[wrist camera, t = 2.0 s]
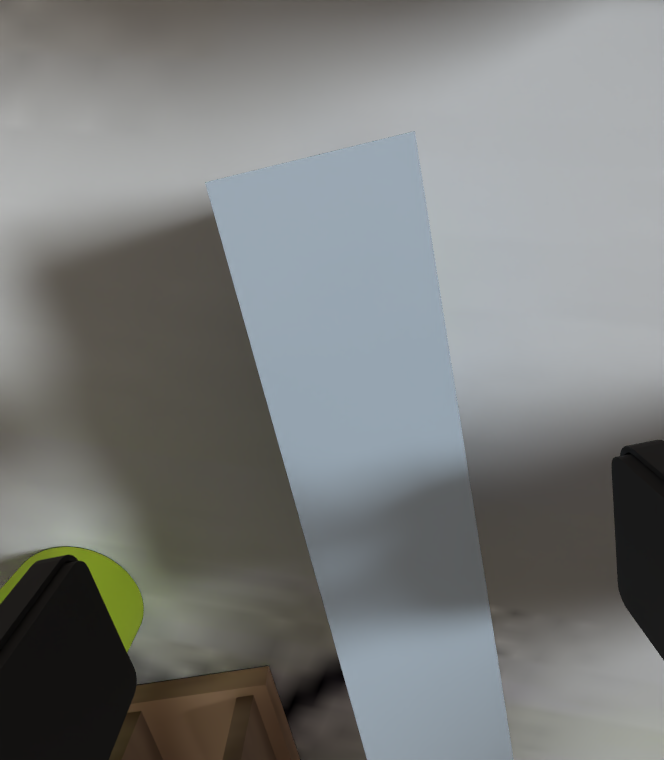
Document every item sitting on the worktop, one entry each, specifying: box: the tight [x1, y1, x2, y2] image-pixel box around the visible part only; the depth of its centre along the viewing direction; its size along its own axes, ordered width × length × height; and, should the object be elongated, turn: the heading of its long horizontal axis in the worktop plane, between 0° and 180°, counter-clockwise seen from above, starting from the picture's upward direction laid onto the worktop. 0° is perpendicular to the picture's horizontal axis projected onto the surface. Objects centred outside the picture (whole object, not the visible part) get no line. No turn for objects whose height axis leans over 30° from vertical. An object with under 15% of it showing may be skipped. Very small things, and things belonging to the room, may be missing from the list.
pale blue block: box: [205, 131, 514, 760], centre depth 15 cm, size 3×14×11 cm, turn 12°
